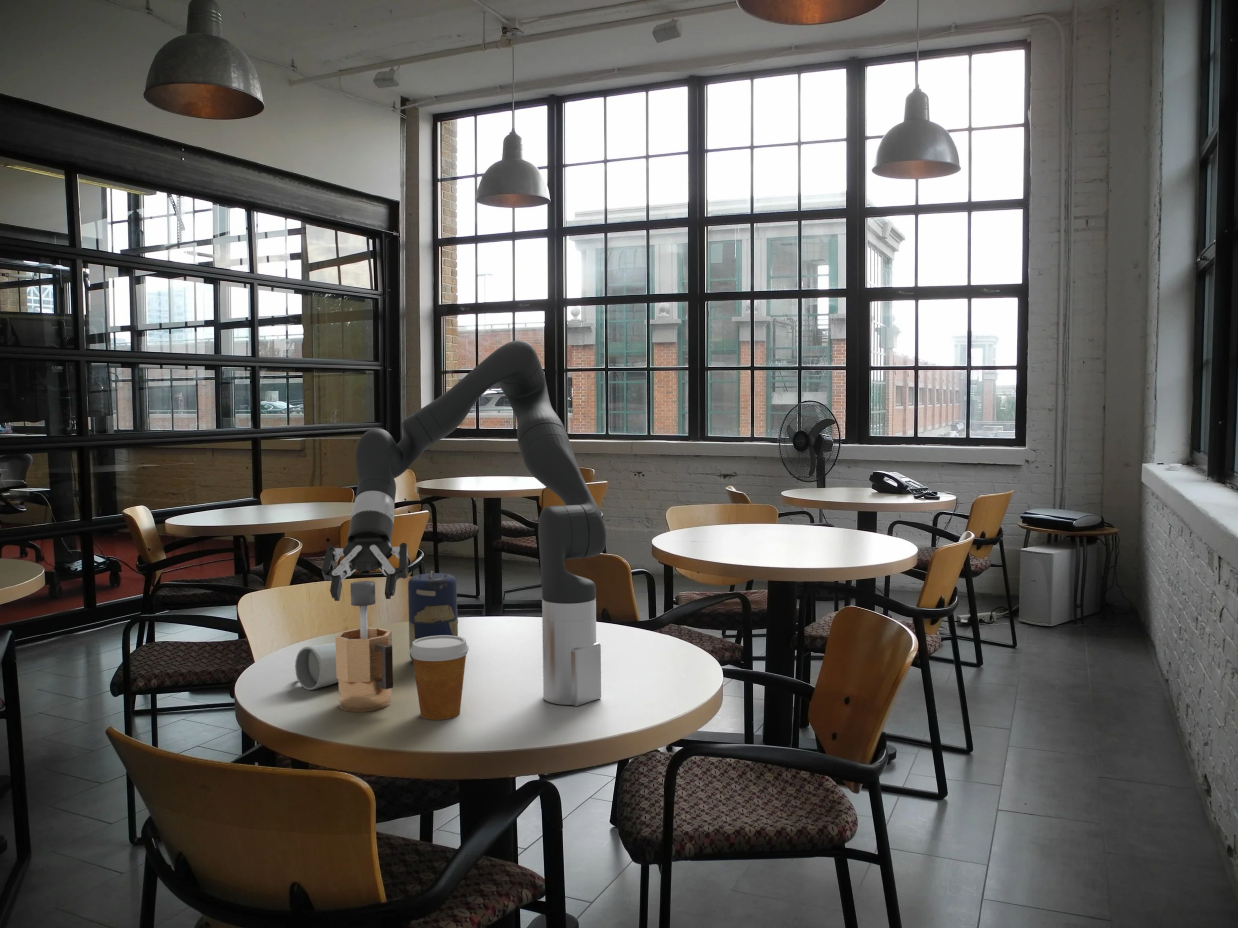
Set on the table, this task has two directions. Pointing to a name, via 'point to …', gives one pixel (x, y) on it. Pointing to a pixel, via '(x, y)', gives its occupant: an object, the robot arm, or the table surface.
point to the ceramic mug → (316, 666)
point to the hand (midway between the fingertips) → (361, 597)
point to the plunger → (363, 602)
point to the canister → (432, 606)
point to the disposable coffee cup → (439, 674)
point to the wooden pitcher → (364, 669)
